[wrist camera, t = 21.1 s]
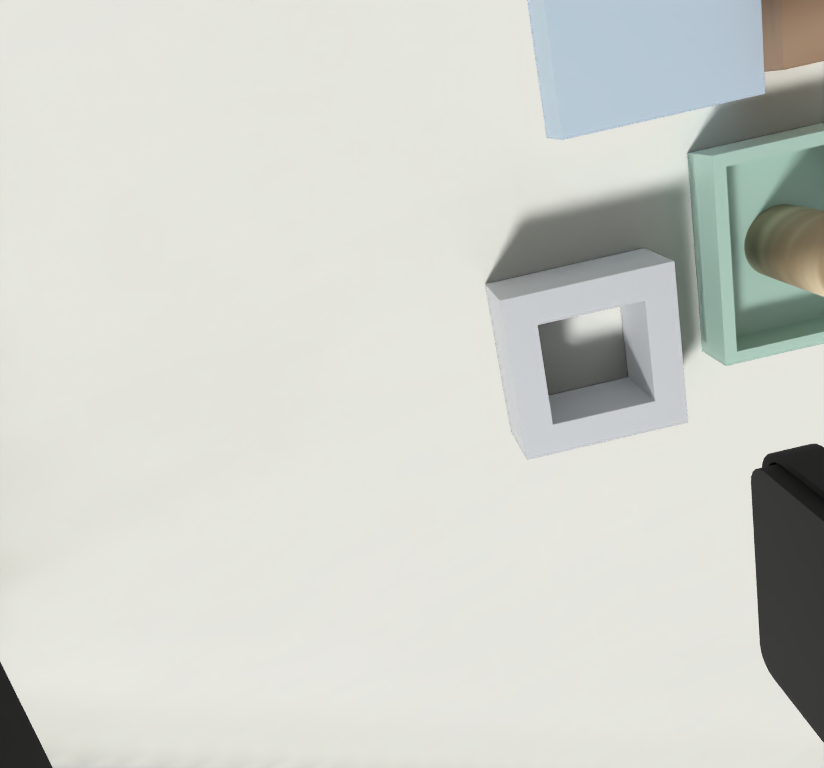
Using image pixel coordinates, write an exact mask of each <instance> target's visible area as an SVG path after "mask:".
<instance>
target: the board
mask: <svg viewBox="0 0 824 768" xmlns="http://www.w3.org/2000/svg"><path fill="white" fill-rule="evenodd" d="M527 2H528V9H529V16H530V23H531V30H532V37H533V45H534V52H535V59H536V66H537V73H538V80H539V87H540V94H541V101H542V108H543V116H544V123H545V130H546V137H547V138H551V139H560V140H564V139H568V138H573V137H577V136H582V135H586V134H590V133H595V132H599V131H604V130H608V129H612V128H617V127H621V126H626V125H630V124H634V123H639V122H643V121H648V120H652V119H656V118H661V117H665V116H670V115H674V114H678V113H683V112H687V111H691V110H696V109H700V108H705V107H709V106H713V105H718V104H722V103H727V102H731V101H735V100H740V99H744V98H749V97H753V96H757V95H762V94H765V77H764V54H763V31H762V8H761V0H527Z"/></svg>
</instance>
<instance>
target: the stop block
mask: <svg viewBox="0 0 824 768" xmlns="http://www.w3.org/2000/svg"><path fill="white" fill-rule="evenodd" d="M761 8H762V31H763V54H764V72H766V71H776V70H785V69H789V68H794V67H798V66H803V65H807V64H812V63H816V62H821V61H824V0H761Z"/></svg>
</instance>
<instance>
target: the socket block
mask: <svg viewBox="0 0 824 768" xmlns="http://www.w3.org/2000/svg"><path fill="white" fill-rule="evenodd" d="M485 287H486V293H487V299H488V304H489V310H490V316H491V321H492V327H493V333H494V338H495V344H496V350H497V355H498V361H499V367H500V372H501V378H502V384H503V389H504V395H505V401H506V406H507V412H508V418H509V423H510V429H511V432H512V434H513V436H514V438H515V440H516V441H517V443H518V445H519V447H520V448H521V450H522V452H523V454H524V456H525V457H526V459H527V460H529V459H533V458H537V457H542V456H546V455H550V454H554V453H559V452H563V451H567V450H572V449H576V448H580V447H585V446H589V445H593V444H597V443H602V442H606V441H610V440H615V439H619V438H623V437H627V436H632V435H636V434H640V433H645V432H649V431H653V430H658V429H662V428H666V427H670V426H675V425H679V424H683V423H688V415H687V403H686V391H685V379H684V368H683V356H682V344H681V333H680V321H679V309H678V298H677V286H676V274H675V262H674V261H673V260H671V259H669V258H666V257H664V256H662V255H659V254H657V253H655V252H652V251H650V250H648V249H646V248H642V249H637V250H633V251H629V252H624V253H620V254H615V255H611V256H607V257H602V258H598V259H593V260H589V261H585V262H580V263H576V264H571V265H567V266H563V267H558V268H554V269H549V270H545V271H541V272H536V273H532V274H527V275H523V276H519V277H514V278H510V279H505V280H501V281H497V282H492V283H488V284H485ZM619 306H620V308H621V317H622V326H623V334H624V343H625V352H626V361H627V370H628V377H627V378H622V379H618V380H614V381H609V382H605V383H601V384H596V385H592V386H588V387H583V388H579V389H575V390H570V391H566V392H562V393H557V394H553V395H549V396H548V390H547V383H546V377H545V370H544V364H543V357H542V351H541V344H540V338H539V331H538V325H541V324H545V323H549V322H554V321H558V320H562V319H567V318H571V317H575V316H580V315H584V314H589V313H593V312H597V311H602V310H606V309H610V308H615V307H619Z"/></svg>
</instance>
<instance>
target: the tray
mask: <svg viewBox="0 0 824 768" xmlns="http://www.w3.org/2000/svg"><path fill="white" fill-rule="evenodd" d="M687 155H688V168H689V181H690V194H691V208H692V221H693V234H694V247H695V261H696V274H697V287H698V300H699V313H700V327H701V340H702V351H703V352H705V353H706V354H708V355H709V356H711V357H713V358H714V359H716V360H717V361H719V362H720V363H722V364H723V365H725V366H728V365H732V364H736V363H741V362H745V361H749V360H754V359H758V358H762V357H767V356H771V355H775V354H780V353H784V352H788V351H793V350H797V349H801V348H806V347H810V346H814V345H819V344H823V343H824V297H823V296H820V295H817V294H814V293H812V292H809V291H806V290H803V289H801V288H798V287H795V286H792V285H790V284H787V283H784V282H781V281H779V280H776V279H773V278H770V277H768V276H765V275H762V274H760V273H758V272H757V271H755V270H754V269H753V268H752V267H751V266H750V264H749V263H748V261H747V259H746V256H745V251H744V243H745V237H746V234H747V231H748V229H749V227H750V225H751V224H752V222H753V221H754V220H755V218H756V217H757V216H758V215H759V214H760V213H762V212H763V211H765V210H766V209H768V208H770V207H772V206H776V205H780V204H790V205H796V206H801V207H806V208H812V209H817V210H822V211H824V123H819V124H815V125H811V126H806V127H802V128H797V129H793V130H788V131H784V132H779V133H775V134H771V135H766V136H762V137H757V138H753V139H748V140H744V141H739V142H735V143H730V144H726V145H722V146H717V147H713V148H708V149H704V150H699V151H695V152H690V153H687Z"/></svg>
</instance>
